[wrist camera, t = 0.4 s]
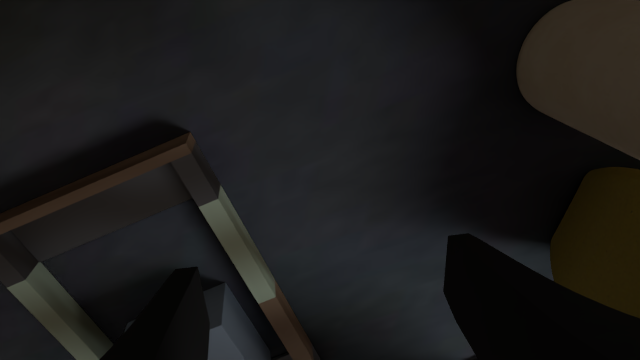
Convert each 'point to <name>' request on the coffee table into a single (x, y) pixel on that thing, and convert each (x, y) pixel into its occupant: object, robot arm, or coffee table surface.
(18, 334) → the coffee table surface
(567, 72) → the candle
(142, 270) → the coffee table surface
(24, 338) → the coffee table surface
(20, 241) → the trap lane
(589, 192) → the flower pot
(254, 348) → the block
